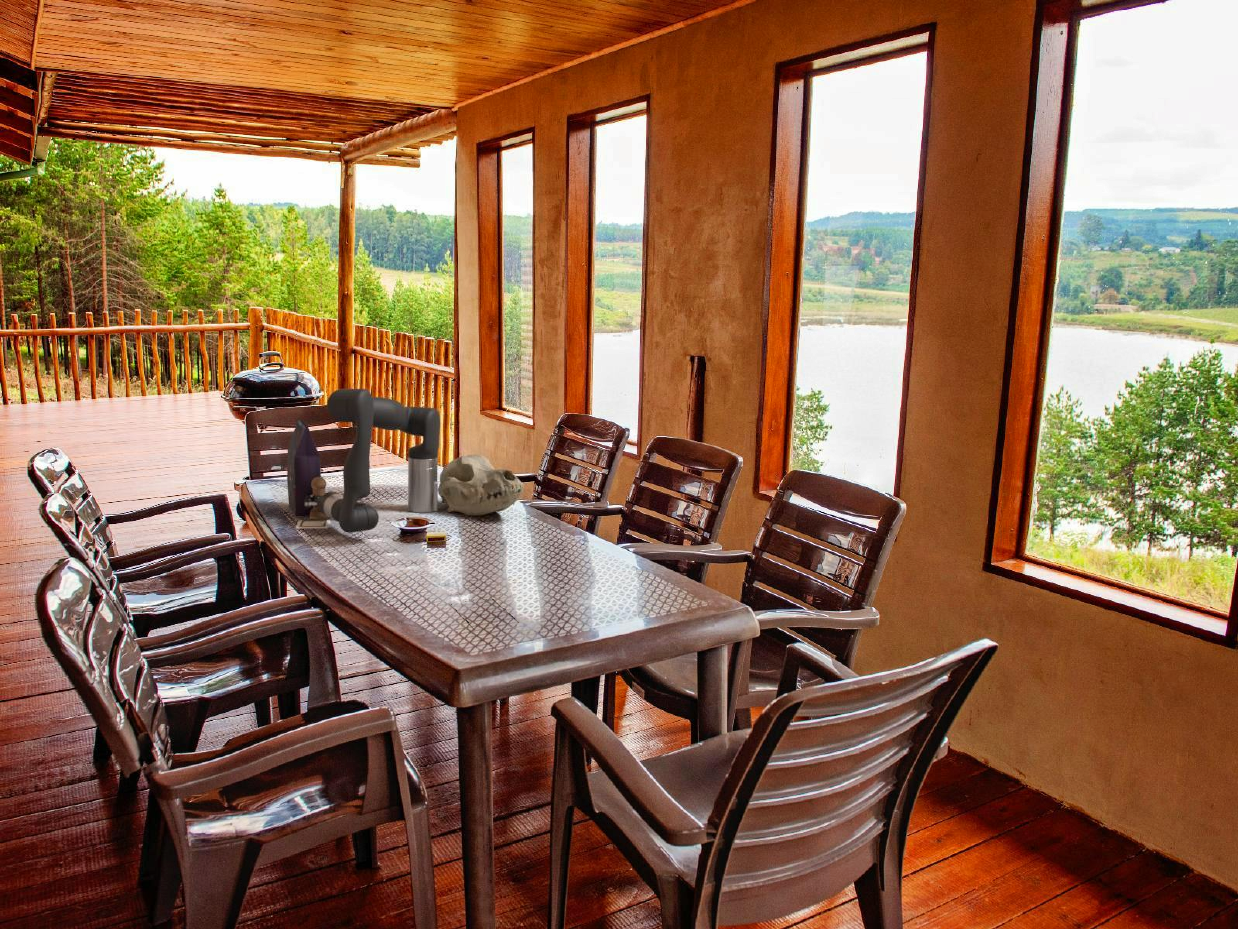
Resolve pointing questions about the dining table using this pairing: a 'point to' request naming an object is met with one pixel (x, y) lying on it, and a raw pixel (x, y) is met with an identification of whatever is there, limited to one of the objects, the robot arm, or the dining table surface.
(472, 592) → the dining table surface
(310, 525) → the sheet
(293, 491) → the purple printed bag
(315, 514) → the stamp
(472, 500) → the animal skull
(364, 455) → the robot arm
